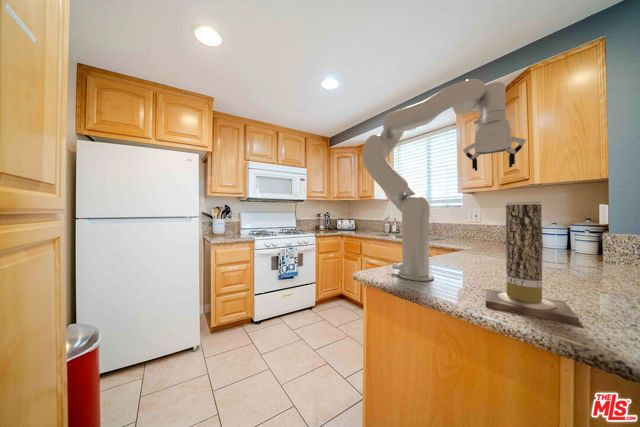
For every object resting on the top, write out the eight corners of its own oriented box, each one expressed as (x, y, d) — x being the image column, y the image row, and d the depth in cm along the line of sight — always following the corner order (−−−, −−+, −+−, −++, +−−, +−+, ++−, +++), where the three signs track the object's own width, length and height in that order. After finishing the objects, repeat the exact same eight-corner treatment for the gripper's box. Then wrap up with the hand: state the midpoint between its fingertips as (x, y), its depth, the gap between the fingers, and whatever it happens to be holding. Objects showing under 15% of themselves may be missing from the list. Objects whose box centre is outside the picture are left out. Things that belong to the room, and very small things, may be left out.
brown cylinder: (526, 295, 60) (526, 203, 61) (550, 305, 53) (549, 202, 54) (500, 294, 61) (499, 203, 61) (520, 304, 54) (519, 202, 54)
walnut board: (485, 306, 57) (485, 299, 57) (486, 293, 66) (486, 287, 67) (579, 325, 47) (578, 316, 47) (564, 307, 57) (564, 300, 57)
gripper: (462, 123, 80) (462, 170, 80) (526, 109, 70) (527, 162, 70) (463, 129, 86) (464, 173, 86) (523, 117, 76) (524, 167, 76)
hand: (492, 168), depth 78 cm, fingers open, 9 cm apart
